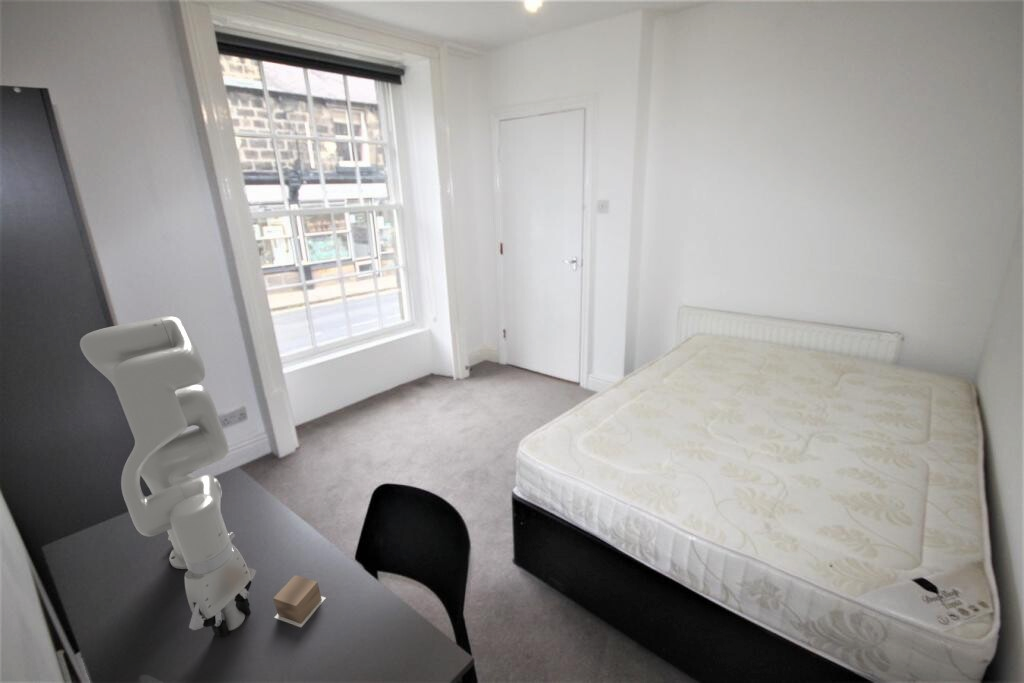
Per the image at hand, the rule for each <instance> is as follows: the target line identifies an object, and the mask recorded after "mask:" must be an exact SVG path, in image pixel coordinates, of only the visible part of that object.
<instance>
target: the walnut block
mask: <svg viewBox="0 0 1024 683" xmlns="http://www.w3.org/2000/svg"><path fill="white" fill-rule="evenodd" d="M321 596H322V594H321V591H320V587H319V582H318V581H316V580H312V579H309V578H306V577H303V576H299V575H297V574H295V575H293V577H292V578H290V579H289V581H288V582H287V583H286V584H285V585H284V586H283V587H282V588H281V589H280V590H279V591H278V592H277V594H276V595H275V596H274V597H273V598H272V599H273V603H274V606H275V609H276V612H277V614H278V616H280V617H283V618H286V619H289V620H292V621H294V622H297V623H300V624H301V623H302V622H303V621H304V620H305V619H306V617H307V616H308V615H309V614H310V613H311V611H312V610H313V609H314V608H315V607H316V606H317V604H318V603H319V602H320V601H321V600H322V598H321Z"/></svg>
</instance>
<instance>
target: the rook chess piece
mask: <svg viewBox="0 0 1024 683" xmlns="http://www.w3.org/2000/svg"><path fill="white" fill-rule="evenodd" d="M234 600H235V597H234V598H233V599H232V600H231V601H230V602H229V603H228V604H227V605H226V606H225V607H224V608H223V609H222V610H221V614H222V620H224V621H226V624H227V627H228V630H229V632H230V631H234V630H236V629H237V628H239V627H240V626H241V625H242V624H243V622H244V620H245V619H246V618H245V617H246V615H245V614H244V613H243V612H242V611H240V610H238V609H237V607H236V602H235V601H234Z"/></svg>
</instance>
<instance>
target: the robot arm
mask: <svg viewBox="0 0 1024 683" xmlns="http://www.w3.org/2000/svg"><path fill="white" fill-rule="evenodd" d="M79 348H80V350H81V352H82V354H83V355H84V357H85V359H86V360H87V361H88V362H89V363H90V364H91V365H92V366H93V367H94V368H95V369H96V370H97V371H98V372H100V374H102V375H103V376H104V377H105V378H106V379H107V380H109V382H110V383H111V384H112V386H113V387H114V389H115V393H116V395H117V397H118V401H119V402H120V405H121V407H122V410H123V413H124V415H125V418H126V421H127V423H128V426H129V428H130V431H131V434H132V435H133V438H134V446H133V449H132V451H131V452H130V454H129V456H128V458H127V460H126V462H125V464H124V466H123V468H122V473H121V478H120V479H121V480H120V487H121V492H122V496H123V500H124V502H125V505H126V508H127V510H128V513H129V516H130V518H131V520H132V523H133V526H134V527H135V529H136V530H137V532H138V533H139V534H140V535H142V536H144V537H154V536H157V535H160V534H162V533H164V532H167V534H168V536H167V540H168V541H170V542H171V544H172V547H173V549H172V550H171V552H170V555H169V558H168V559H169V562H170V564H171V566H172V567H173V568H175V569H178V570H179V569H180V570H187V571H186V572H185V573H184V588H185V596H186V598H187V602H188V605H189V609H190V611H191V613H192V615H191V619H190V622H189V624H188V629H189V630H192V631H197V630H200V629H202V628H204V627H205V628H208V627H211V628H212V631H213V633H214V635H215V636H217V637H220V636H225V637H227V638H228V637H229V636H230V631H229V630H228V627H227V624H226V621H224V620H223V616H222V612H221V610H222V609H223V608H224V607H225V606H226V605H227V604H228V603H229V602H230V601H231V600H232V599H233V598H234V597H235V600H234V601H235V602H236V607H237V609H238V610H240V611H242V612H243V613H244V614H245V616H249V615H250V614H251V613H252V612H251V609H250V606H251V605H250V602H249V600H248V599H249V597H250V596H249V595H250V592H249V590H250V589H251V585H252V581H253V579H254V577H255V575H256V574H257V570H256V569H253V568H251V567H248V566H247V565H248V564H247V563H246V562H245V559H244V557H243V555H242V554H241V552H240V551H239V550H238V548H237V547H236V546H235V544H233V543H232V541H233V539H234V538H235V537H236V534H235V533H234V532H233V531H230V532H228V529H227V527H226V524H225V521H224V518H223V515H222V512H221V510H222V509H221V501H222V500H221V498H222V497H223V491H222V486H221V483H220V481H219V480H218V478H217V477H215V476H213V475H211V474H207V473H206V474H200V475H197V476H194V475H192V474H193V473H194V472H197V471H199V470H201V469H204V468H207V467H209V466H212V465H214V464H216V463H218V462H219V463H220V462H221V461H223V460H224V459H226V457H227V456H228V454H229V444H228V441H227V437H226V434H225V431H224V429H223V425H222V423H221V419H220V417H219V414H218V412H217V409H216V406H215V403H214V399H213V398H212V396H211V394H210V392H209V391H208V390H207V388H206V387H205V386H203V385H201V384H200V383H202V382H203V381H204V379H205V376H206V369H205V365H204V362H203V358H202V356H201V354H200V352H199V350H198V347H197V345H196V344H195V342H194V340H193V338H192V337H191V335H190V332H189V331H188V329H187V327H186V325H185V324H184V322H183V321H182V320H181V319H180V318H178V317H176V316H171V315H170V316H169V315H168V316H167V315H166V316H161V317H154V318H151V319H150V318H149V319H145V320H140V321H139V320H138V321H134V322H129V323H124V324H123V323H122V324H118V325H114V326H108V327H104V328H100V329H96V330H94V331H91V332H88V333H86V334H85V335H83V336H82V337H81V339H80V341H79ZM192 426H196V427H197V428H194V429H192V430H189V431H186V430H187V428H189V427H192ZM185 431H186V432H185ZM141 478H142V480H143V481H144V482H145V484H146V486H147V487H148V488H149V491H150V492H151V494H150V495H148V496H145V495H144V493H143V491H142V488H141Z"/></svg>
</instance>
